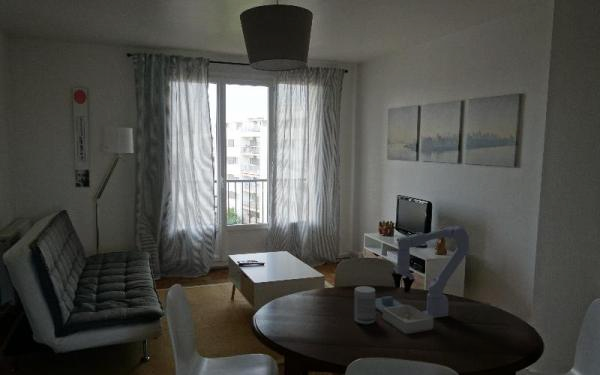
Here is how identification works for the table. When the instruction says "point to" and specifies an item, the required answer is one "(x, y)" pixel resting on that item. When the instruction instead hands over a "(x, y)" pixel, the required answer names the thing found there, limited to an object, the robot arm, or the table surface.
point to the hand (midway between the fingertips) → (402, 289)
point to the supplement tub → (364, 304)
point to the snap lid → (386, 303)
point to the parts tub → (408, 319)
